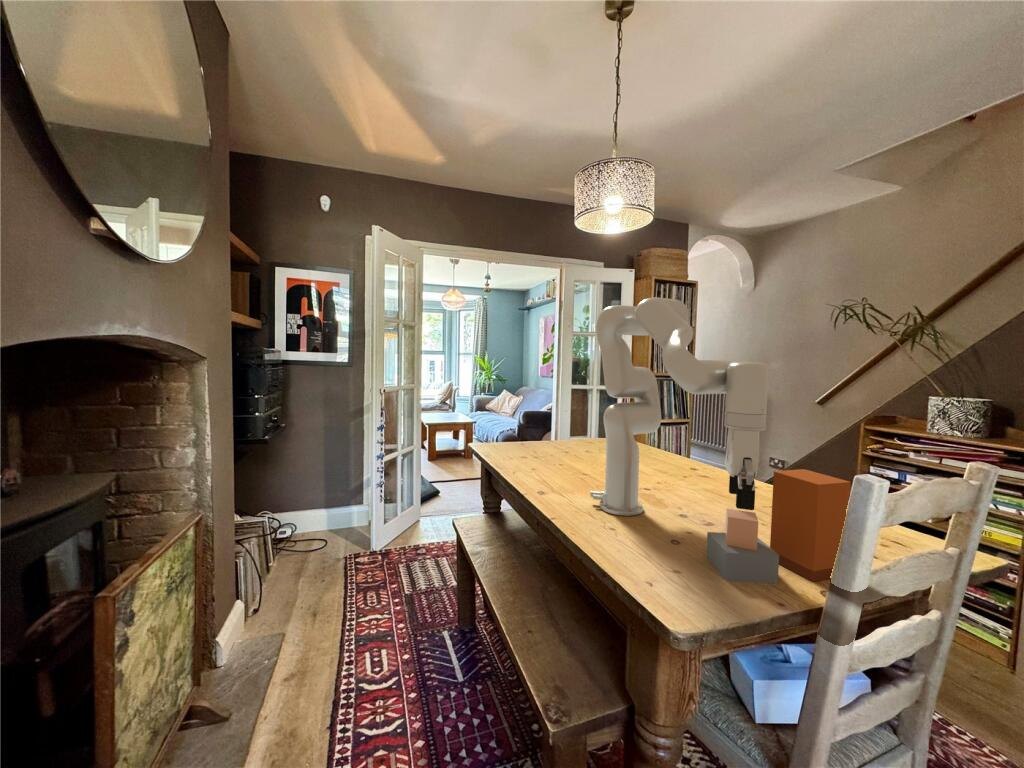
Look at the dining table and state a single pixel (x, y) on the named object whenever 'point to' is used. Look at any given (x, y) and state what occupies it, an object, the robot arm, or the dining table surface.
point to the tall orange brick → (808, 521)
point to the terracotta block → (741, 529)
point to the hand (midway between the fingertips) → (740, 501)
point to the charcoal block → (742, 560)
